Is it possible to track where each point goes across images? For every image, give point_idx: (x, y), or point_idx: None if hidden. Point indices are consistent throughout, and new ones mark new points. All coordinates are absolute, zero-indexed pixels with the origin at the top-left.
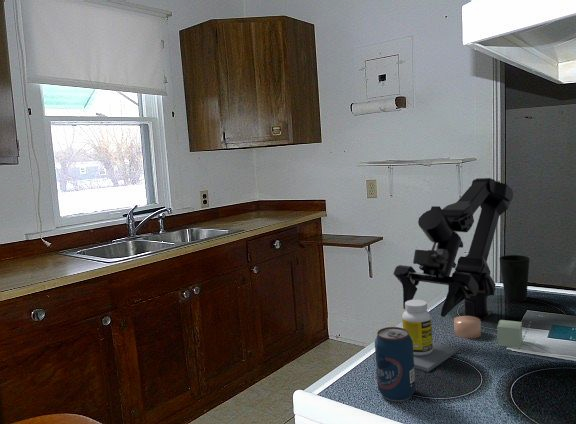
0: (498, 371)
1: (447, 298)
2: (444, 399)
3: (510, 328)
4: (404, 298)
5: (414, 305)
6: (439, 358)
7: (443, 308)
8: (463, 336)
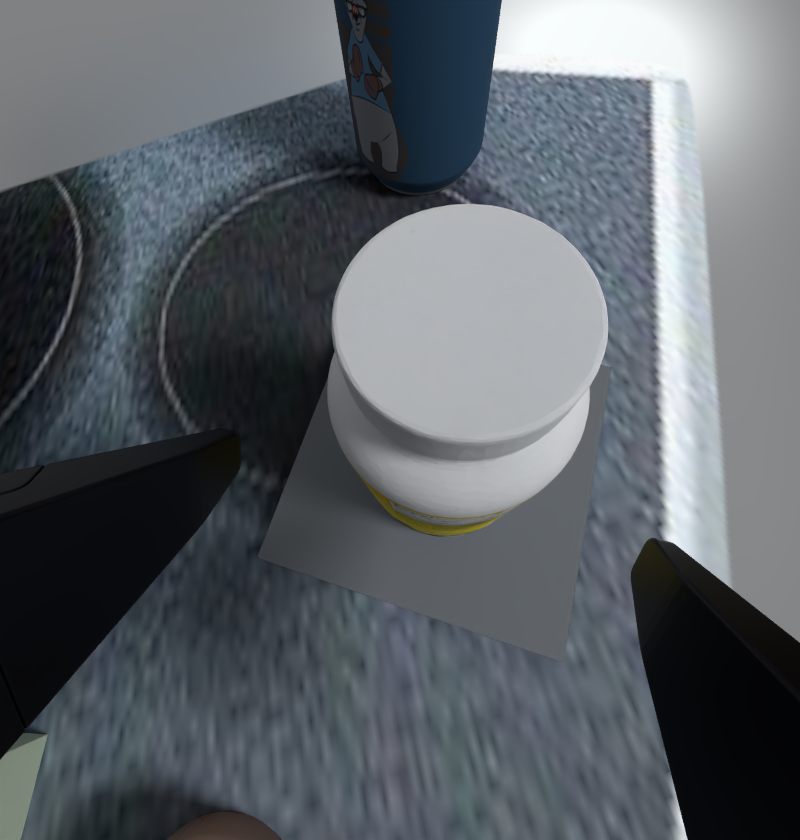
0: (92, 413)
1: (42, 488)
2: (274, 180)
3: None
4: (757, 620)
5: (448, 217)
6: (325, 410)
7: (181, 446)
8: (236, 817)
